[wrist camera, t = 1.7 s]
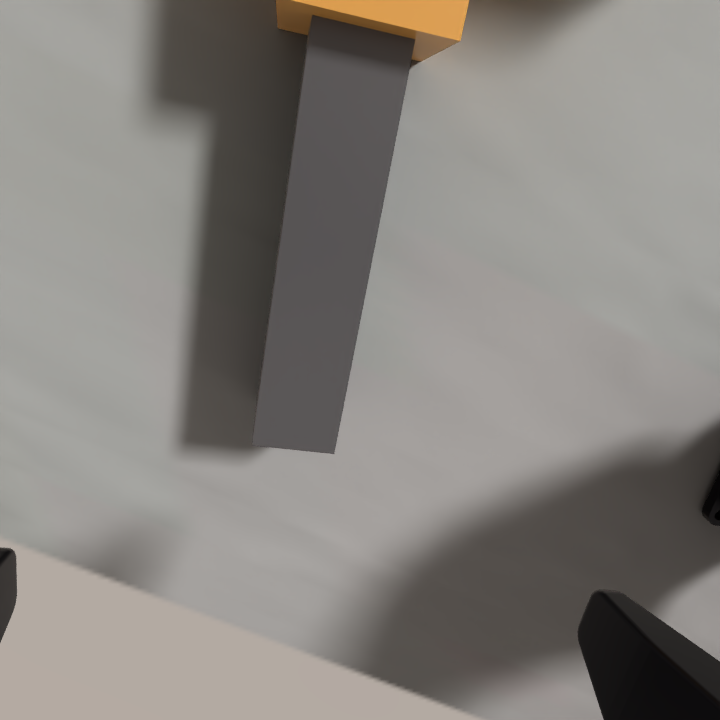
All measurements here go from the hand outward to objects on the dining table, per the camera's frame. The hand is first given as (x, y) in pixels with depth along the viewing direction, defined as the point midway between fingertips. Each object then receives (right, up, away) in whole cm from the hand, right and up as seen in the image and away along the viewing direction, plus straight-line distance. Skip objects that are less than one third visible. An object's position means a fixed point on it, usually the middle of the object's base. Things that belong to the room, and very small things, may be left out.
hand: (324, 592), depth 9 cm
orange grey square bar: (0, +9, +8) cm, 12 cm away
